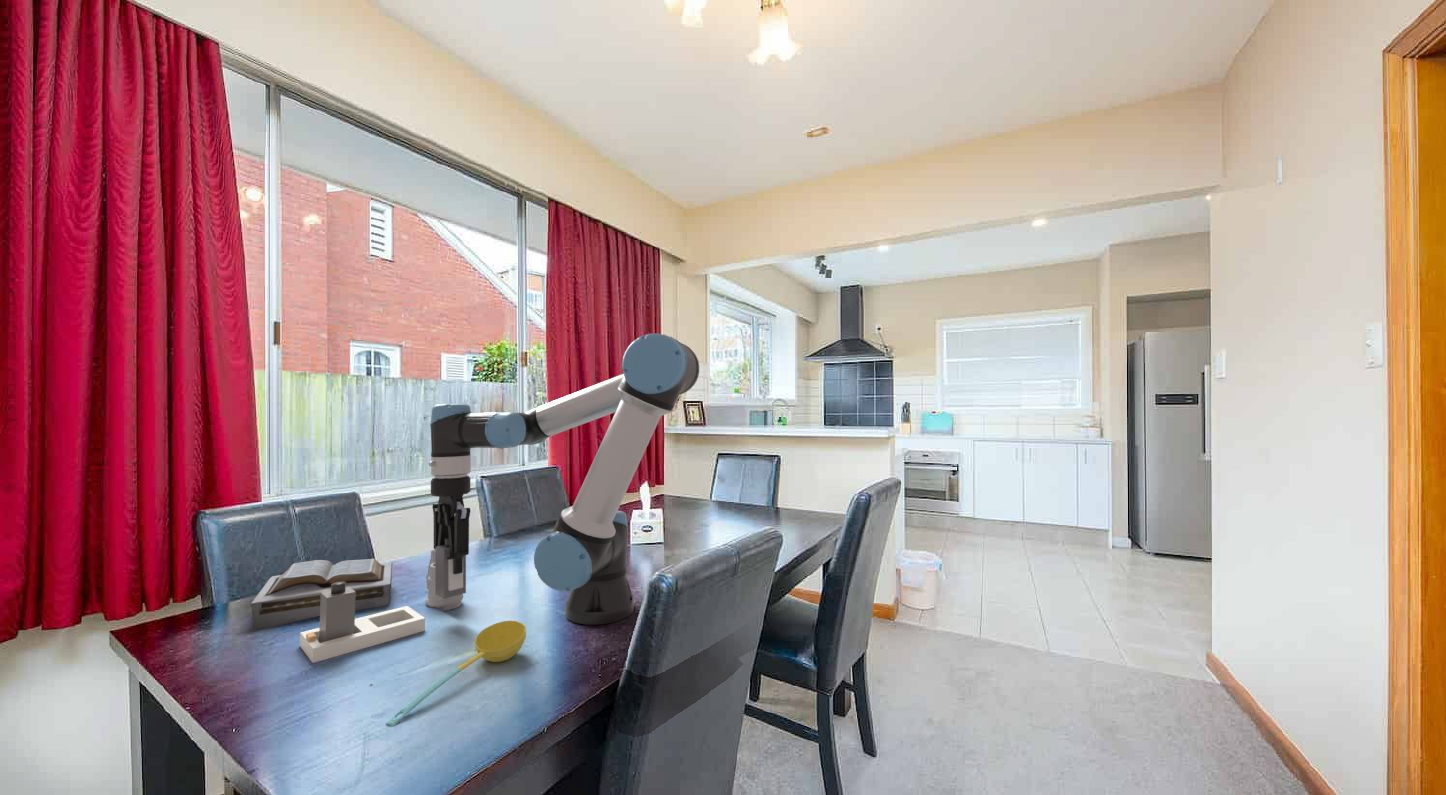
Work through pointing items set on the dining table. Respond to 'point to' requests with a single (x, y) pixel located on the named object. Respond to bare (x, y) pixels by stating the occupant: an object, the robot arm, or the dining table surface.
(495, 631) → the ladle
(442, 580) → the plug
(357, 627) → the strip
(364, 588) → the bible
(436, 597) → the mug
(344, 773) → the dining table surface
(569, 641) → the dining table surface
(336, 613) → the twin plug
